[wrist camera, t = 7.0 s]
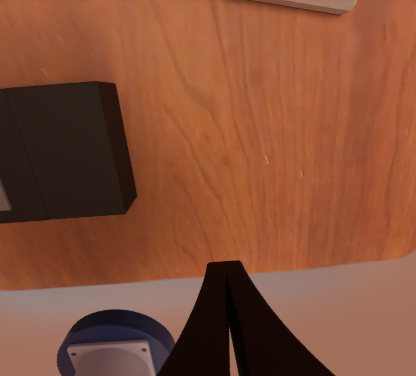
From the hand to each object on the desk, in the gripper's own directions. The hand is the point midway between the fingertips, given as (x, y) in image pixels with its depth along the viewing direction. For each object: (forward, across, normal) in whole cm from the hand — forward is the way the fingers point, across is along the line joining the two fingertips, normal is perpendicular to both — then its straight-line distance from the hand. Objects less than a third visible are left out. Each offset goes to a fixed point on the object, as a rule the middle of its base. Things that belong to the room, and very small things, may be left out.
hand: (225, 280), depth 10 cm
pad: (+9, +8, -4) cm, 13 cm away
